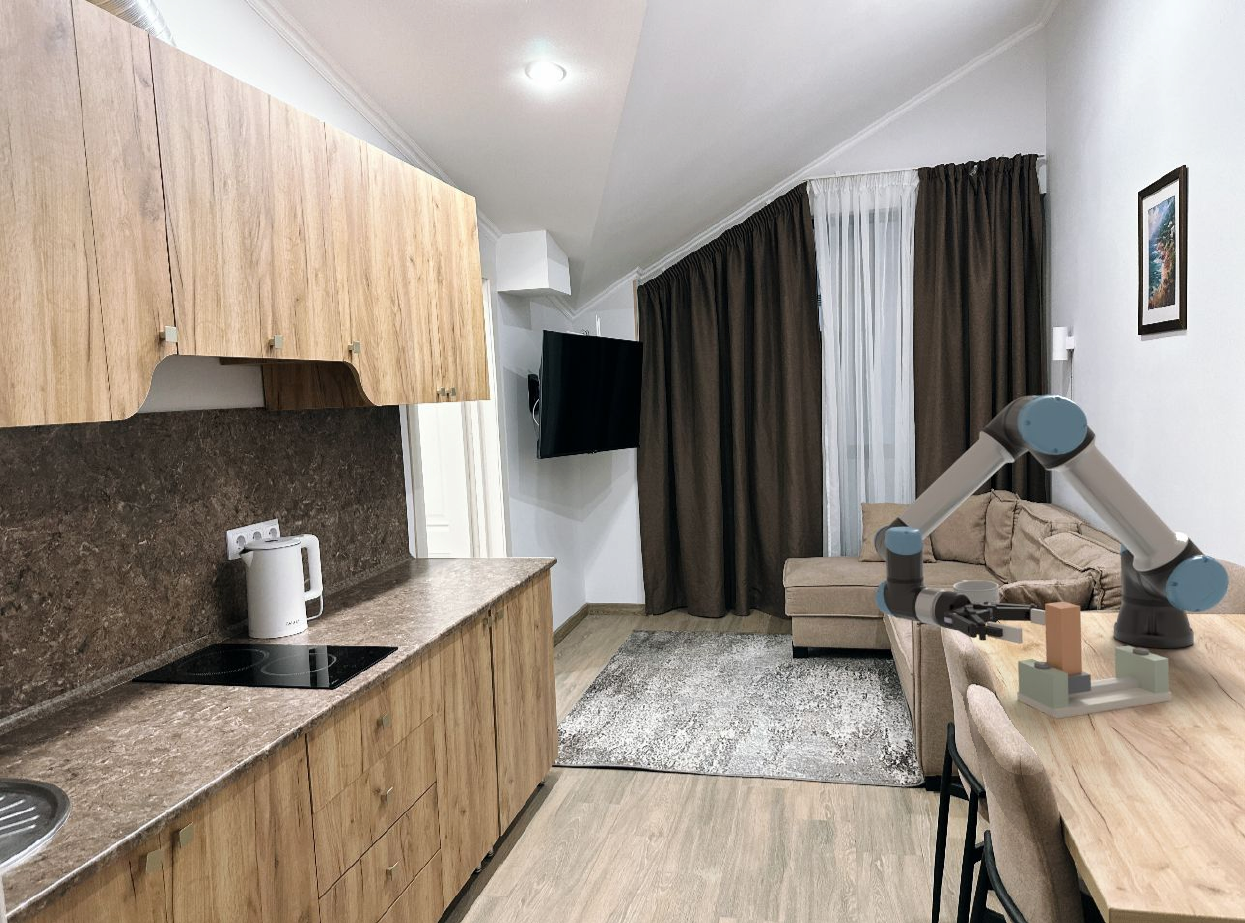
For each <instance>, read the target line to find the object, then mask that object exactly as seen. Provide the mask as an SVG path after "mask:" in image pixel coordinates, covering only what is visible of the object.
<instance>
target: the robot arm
mask: <svg viewBox="0 0 1245 923" xmlns="http://www.w3.org/2000/svg"><path fill="white" fill-rule="evenodd" d="M978 434H979V437H978V438H979V439H978V440H977V441H976V442H975V443H973V445H971V447H970V448H968V450H966V451H965V452H964V453H963V454H962V455H961V456H960V457H959V458H958V459H957V460H956V461H955V462H953V464H952V465H951V466H950V467H948V469H946V470H945V471H944V472H943V473H942V474H941V475H940V476H939V477H938V478H937V479H936V480H935V481H934V482H933V483H931V485H930V486H928V488H927V489H925V490H924V491H923V492H922V493H921V494H920V495H919V496H918V497H917V498H916V499H915V500H914V501H913V502H912V503H911V504H909V506H908V507H907V508H906V509H904V511H903V512H900V514H899V515H898V516H897V517H896V518H895V519H894V520H893V521H892V522H891V523H890V524H888V525H885V526H882V527H881V528H879V529H877V531H876V532H875V533H874V536H873V546H874V549H875V551H876V553H877V555H879V557H880V558H882V559H883V560H884V561H885V565H886V567H885V568H886V580H884V581H882V582H881V583H880V584H879V585H878V586H877V593H876V594H875V604H876V606H877V607H878V610H880V612H881V613H883V614H885V615H889V616H892V617H894V618H896V619H902V620H908V621H914V622H918V623H923V624H928V625H930V626H931V627H932V628H936V627H942V628H944V629H949V630H953V631H958V632H959V633H962V634H963V635H965V636H967V637H970V638H972V639H975V638H978V639H979V640H978V641H987V637H989V638H991V639H992V638H993V639H997V640H1001V641H1004V642H1005V641H1007V642H1010V643H1014V644H1021V645H1022V644H1023V642H1024V640H1023V627H1017V626H1013V625H1009V624H1005V623H1004V624H1003V623H998V621H1009V622H1010V621H1012V622H1014V621H1015V622H1017V621H1018V622H1030V624H1034V625H1038V626H1039V625H1040V626H1044V627H1046V621H1045V609H1038V606H1037V605H1035V603H1030V604H1019V603H1017V604H1016V603H1006V602H1005V603H1001V602H999V603H994V602H988V601H986V602H984V604H981V603H973V604H972V603H971V602H970V600H969V598H968V597H967V596H966V595H965V594H962V593H957V592H954V591H951V590H946V589H940V588H934V587H929V586H924V585H925V584H924V583H925V582H924V554H923V553H924V550H923V549H924V543H923V541H924V540H925V539H926V538H927V537H928V536H929V535H931V533H932V532H933V531H934V530H936V529H937V528H938V527H939V526H940V525H941V524H942V523H943V522H944V521H945V520H946V519H947V518H948V517H949V516H951V515H952V514H953V513H954V512H955V511H956V510H957V509H958V508H959V507H960V506H962V504H964V503H965V501H966V500H968V498H969V497H970V496H972V495H973V494H975V492H976V491H977V490H978V489H979V488H980V487H982V486H983V484H985V483H986V482H987V481H988V480H989V479H990V478H991V477H993V475H994V474H996V472H997V471H999V470H1000V469H1001V468H1002V467H1003V466H1004V465H1005V464H1008V463H1009V464H1010V463H1011V464H1012V463H1014V462H1016V460H1017V459H1018V458H1019V457H1021V456H1022V455H1024V454H1025V453H1028V452H1030V453H1031V455H1032V456H1033V457H1034V458H1035V459H1036V460H1037V462H1039V464H1041V466H1042V467H1043V468H1044V469H1045V470H1046V471H1053V472H1057V473H1059V474H1060V475H1061V477H1062V478H1064V480H1065V481H1066V482H1067V483H1068V484H1069V485H1070V486H1071V487H1072V489H1073V490H1074V491H1075V492H1076V493H1077V494H1078V495H1079V497H1080V498H1082V500H1083V501H1084V502H1085V503H1086V505H1088V506H1089V507H1090V509H1091V510H1092V511H1093V512H1094V513H1095V514H1096V515H1097V517H1098V518H1099V519H1100V520H1101V521H1102V522H1103V523H1104V524H1105V525H1106V527H1107V528H1108V529H1109V530H1110V531H1111V532H1112V533H1113V535H1115V537H1116V538H1117V539H1118V540H1119V541H1120V543H1121V545H1120V551H1119V555H1120V577H1121V578H1120V579H1121V584H1120V585H1121V603H1120V604H1121V605H1120V607H1119V611H1118V615H1117V617H1116V618H1117V619H1116V621H1115V622H1114V624H1113V637H1114V638H1115V639H1116V640H1118V641H1120V642H1122V643H1125V644H1130V645H1134V646H1138V647H1144V648H1154V649H1155V648H1156V649H1175V648H1176V649H1177V648H1186V647H1189V646H1191V645H1193V644H1194V642H1195V640H1194V639H1195V638H1194V637H1195V636H1194V630H1193V628H1192V627H1191V625H1190V620H1189V617H1188V615H1187V612H1191V613H1201V612H1206V611H1208V610H1211V609H1213V608H1214V607H1216V606H1218V605H1219V604H1220V603H1221V602H1222V601H1223V600H1224V598H1225V597H1226V595H1227V592H1228V587H1229V585H1230V584H1229V583H1230V578H1229V575H1228V572H1227V570H1226V568H1225V566H1224V565H1223V564H1222V563H1221V562H1219V561H1218V560H1216V559H1215V558H1214V557H1212V556H1209V555H1206V554H1205V553H1204V552H1202V550H1201V549H1199V548H1200V547H1198V546H1197V545H1196V544H1195V543H1194V542H1193V541H1192V540H1191V538H1189V536H1188V535H1187V534H1186V533H1183V532H1177V531H1172V529H1171V528H1170V527H1169V526H1168V525H1167V524H1166V523H1165V521H1164V520H1162V519H1161V517H1160V515H1158V514H1157V512H1155V510H1153V508H1152V507H1151V506H1150V505H1149V504H1148V503H1147V501H1145V500H1144V498H1143V497H1142V496H1141V495H1140V494H1139V492H1137V491H1136V489H1134V487H1133V486H1132V485H1131V484H1130V483H1129V482H1128V481H1127V479H1126V478H1125V477H1124V476H1123V475H1122V474H1121V473H1120V472H1119V471H1118V470H1117V468H1116V467H1115V466H1114V465H1113V464H1112V462H1110V461H1109V459H1108V458H1107V457H1106V456H1105V455H1104V453H1102V452H1101V451H1100V450H1099V449H1098V447H1097V446H1096V439H1097V435H1096V433H1095V432H1094V431H1093V430H1092V429H1091V428H1090V426H1089V425H1088V419H1087V416H1086V415H1085V412H1084V410H1083V409H1082V408H1081V406H1080V405H1078V403H1076V402H1075V401H1073V400H1071V399H1069V398H1068V397H1064V396H1061V395H1058V394H1043V395H1025V396H1020V397H1018V398H1016V399H1014V400H1013V401H1011V402H1010V403H1008V404H1007V405H1006V406H1005V407H1004V408H1003V409H1002V410H1001V411H1000V412H998V414H997V415H996V416H995V417H994V418H993V419H992V420H991V421H990V422H988V424H986V425H985V427H984V428H983V429H981V430H980V432H979V433H978ZM991 616H992V617H991ZM978 636H979V637H978Z"/></svg>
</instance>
